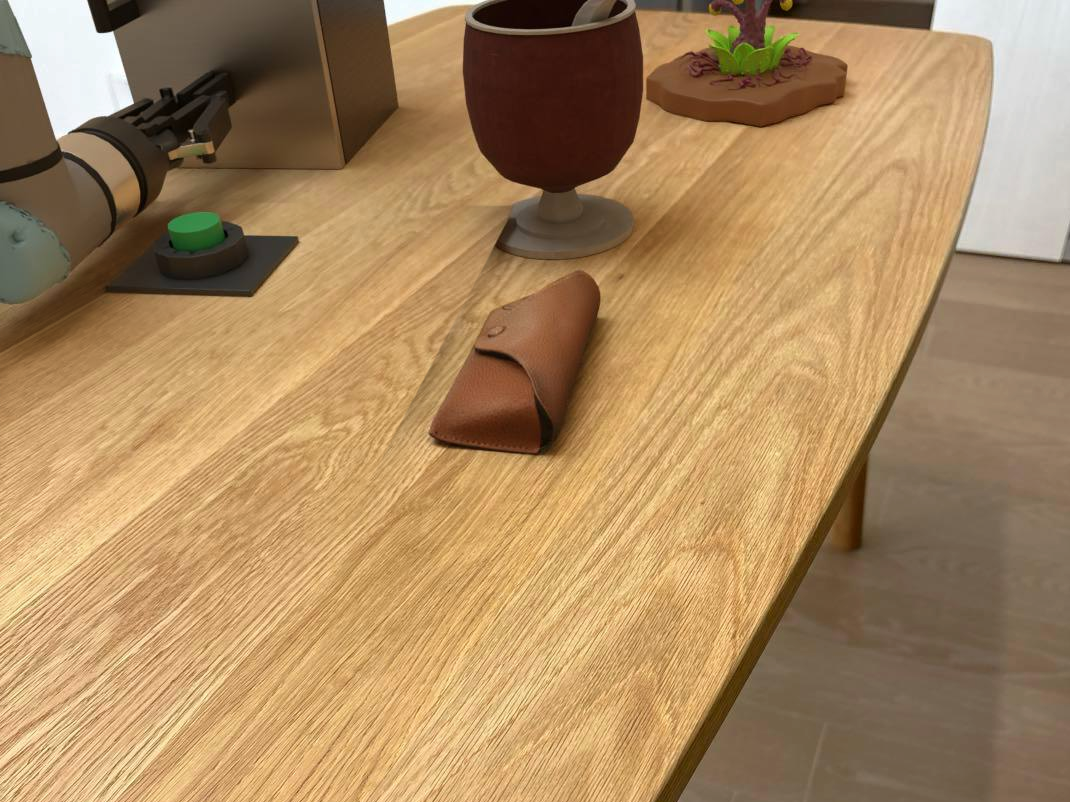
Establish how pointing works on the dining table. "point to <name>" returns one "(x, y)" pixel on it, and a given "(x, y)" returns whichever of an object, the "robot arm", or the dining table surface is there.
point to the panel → (205, 266)
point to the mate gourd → (555, 114)
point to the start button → (196, 231)
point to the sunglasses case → (521, 370)
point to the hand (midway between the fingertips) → (221, 87)
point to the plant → (747, 74)
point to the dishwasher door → (236, 72)
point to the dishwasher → (358, 68)
